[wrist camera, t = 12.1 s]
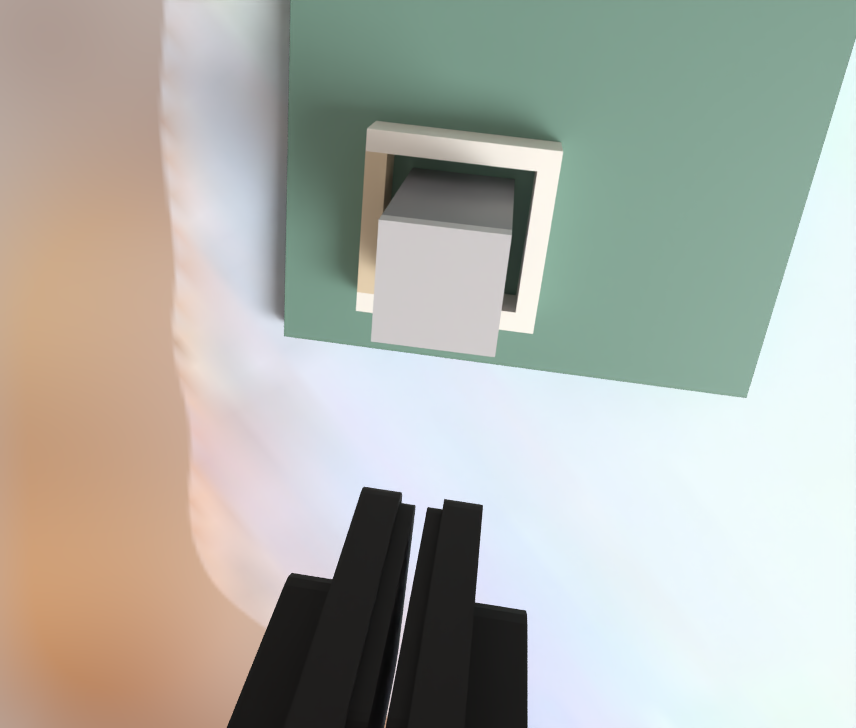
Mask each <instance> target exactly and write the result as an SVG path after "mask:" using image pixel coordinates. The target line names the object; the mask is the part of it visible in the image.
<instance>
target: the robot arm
mask: <svg viewBox="0 0 856 728" xmlns="http://www.w3.org/2000/svg"><path fill="white" fill-rule="evenodd" d="M401 502H402V493H401V492H395V491H388V490H382V489H375V488H369V487H363V488H362V491H361V494H360V497H359V500H358V503H357V506H356V509H355V512H354V515H353V518H352V521H351V524H350V528H349V531H348V534H347V537H346V540H345V543H344V546H343V549H342V552H341V555H340V558H339V561H338V564H337V567H336V570H335V574H334V577H333V579H326V578H320V577H314V576H308V575H301V574H295V573H291V574H290V575H289V577H288V578H287V581H286V583H285V585H284V587H283V590H282V592H281V595H280V597H279V599H278V602H277V604H276V607H275V609H274V612H273V614H272V617H271V619H270V622H269V624H268V627H267V629H266V632H265V635H264V637H263V639H262V642H261V644H260V647H259V649H258V652H257V654H256V657H255V659H254V661H253V664H252V667H251V669H250V671H249V674H248V676H247V679H246V681H245V684H244V686H243V689H242V691H241V694H240V696H239V699H238V701H237V704H236V706H235V709H234V711H233V714H232V716H231V719H230V721H229V723H228V726H227V728H384V725H385V720H386V715H387V710H388V704H389V699H390V694H391V689H392V684H393V678H394V673H395V667H396V661H397V655H398V648H399V640H400V631H401V623H402V615H403V607H404V598H405V590H406V582H407V573H408V565H409V557H410V548H411V540H412V532H413V524H414V515H415V505H410V504H404V503H401ZM482 510H483V505H479V504H473V503H466V502H460V501H453V500H447V499H444V504H443V510H442V509H436V508H429V507H428V508H427V512H426V517H425V523H424V528H423V533H422V539H421V544H420V549H419V554H418V560H417V565H416V570H415V575H414V581H413V586H412V591H411V597H410V602H409V607H408V612H407V618H406V623H405V628H404V633H403V639H402V644H401V649H400V655H399V660H398V665H397V670H396V676H395V681H394V686H393V691H392V697H391V702H390V707H389V713H388V718H387V723H386V728H527V613H526V611H525V610H519V609H513V608H506V607H500V606H494V605H488V604H482V603H475V594H476V582H477V570H478V558H479V546H480V534H481V522H482Z"/></svg>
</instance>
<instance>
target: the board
mask: <svg viewBox="0 0 856 728" xmlns="http://www.w3.org/2000/svg"><path fill="white" fill-rule="evenodd" d="M855 39H856V0H290V50H289V103H288V156H287V208H286V261H285V314H284V336H287V337H294V338H302V339H309V340H317V341H324V342H332V343H339V344H347V345H354V346H362V347H369V348H377V349H384V350H391V351H399V352H406V353H414V354H421V355H429V356H436V357H444V358H451V359H459V360H466V361H474V362H481V363H489V364H496V365H504V366H511V367H519V368H526V369H533V370H541V371H548V372H556V373H563V374H571V375H578V376H586V377H593V378H601V379H608V380H616V381H623V382H631V383H638V384H646V385H653V386H661V387H668V388H675V389H683V390H690V391H698V392H705V393H713V394H720V395H728V396H735V397H743V398H746V397H747V394H748V391H749V387H750V384H751V381H752V377H753V374H754V371H755V368H756V364H757V361H758V358H759V354H760V351H761V348H762V345H763V341H764V338H765V335H766V331H767V328H768V325H769V321H770V318H771V315H772V312H773V308H774V305H775V302H776V298H777V295H778V292H779V289H780V285H781V282H782V279H783V275H784V272H785V269H786V266H787V262H788V259H789V256H790V252H791V249H792V246H793V243H794V239H795V236H796V233H797V229H798V226H799V223H800V220H801V216H802V213H803V210H804V206H805V203H806V200H807V197H808V193H809V190H810V187H811V183H812V180H813V177H814V173H815V170H816V167H817V164H818V160H819V157H820V154H821V150H822V147H823V144H824V141H825V137H826V134H827V131H828V127H829V124H830V121H831V118H832V114H833V111H834V108H835V104H836V101H837V98H838V95H839V91H840V88H841V85H842V81H843V78H844V75H845V72H846V68H847V65H848V62H849V58H850V55H851V52H852V49H853V45H854V42H855ZM412 168H421V169H430V170H439V171H447V172H456V173H465V174H474V175H483V176H492V177H500V178H509V179H515V185H514V204H513V223H512V238H511V245H510V252H509V259H508V267H507V274H506V281H505V288H504V295H503V303H502V310H501V317H500V324H499V332H498V339H497V346H496V353H495V357H489V356H481V355H473V354H465V353H457V352H450V351H442V350H434V349H426V348H418V347H410V346H403V345H395V344H387V343H379V342H371V332H372V316H373V301H374V285H375V269H376V253H377V238H378V222H379V218H380V217H381V215H382V214H383V212H384V211H385V209H386V208H387V206H388V205H389V203H390V202H391V200H392V198H393V197H394V195H395V194H396V192H397V191H398V189H399V188H400V186H401V185H402V183H403V182H404V180H405V179H406V177H407V176H408V174H409V172H410V171H411V169H412Z"/></svg>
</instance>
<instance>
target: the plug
mask: <svg viewBox="0 0 856 728" xmlns="http://www.w3.org/2000/svg"><path fill="white" fill-rule="evenodd" d="M514 185H515V179H509V178H500V177H492V176H483V175H474V174H465V173H456V172H447V171H439V170H430V169H421V168H412V169H411V171H410V172H409V174H408V176H407V177H406V179H405V180H404V182H403V183H402V185H401V186H400V188H399V189H398V191H397V192H396V194H395V195H394V197H393V198H392V200H391V202H390V203H389V205H388V206H387V208H386V209H385V211H384V212H383V214H382V215H381V217H380V218H379V222H378V238H377V253H376V269H375V285H374V301H373V316H372V332H371V342H379V343H387V344H395V345H403V346H410V347H418V348H426V349H434V350H442V351H450V352H457V353H465V354H473V355H481V356H489V357H495V353H496V346H497V339H498V332H499V324H500V317H501V310H502V303H503V295H504V288H505V281H506V274H507V267H508V259H509V252H510V245H511V238H512V223H513V204H514Z"/></svg>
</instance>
